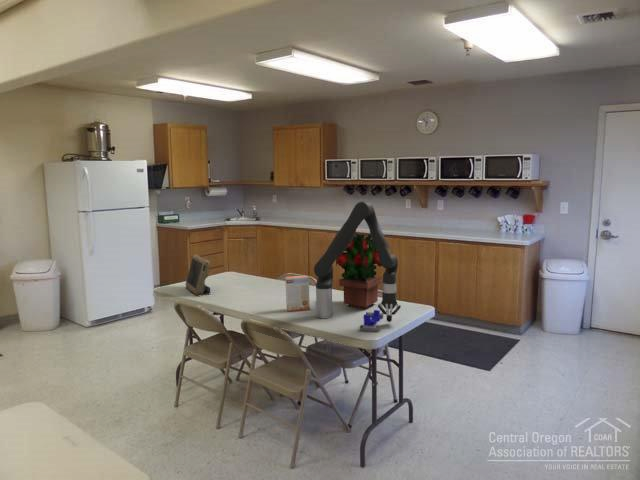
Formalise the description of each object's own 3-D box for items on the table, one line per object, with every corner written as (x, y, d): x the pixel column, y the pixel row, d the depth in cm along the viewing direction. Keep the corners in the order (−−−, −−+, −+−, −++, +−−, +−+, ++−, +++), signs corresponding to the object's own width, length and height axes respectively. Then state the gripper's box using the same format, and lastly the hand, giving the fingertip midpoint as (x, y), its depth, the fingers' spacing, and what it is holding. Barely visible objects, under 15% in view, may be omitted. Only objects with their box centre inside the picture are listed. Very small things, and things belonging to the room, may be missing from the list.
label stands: (359, 331, 255) (359, 326, 254) (366, 315, 282) (366, 311, 281) (378, 332, 252) (378, 327, 252) (383, 316, 280) (383, 312, 279)
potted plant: (368, 312, 288) (368, 238, 282) (336, 307, 300) (335, 236, 294) (384, 303, 306) (384, 233, 300) (353, 299, 318) (353, 231, 312)
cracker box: (308, 307, 301) (307, 274, 298) (310, 310, 295) (309, 276, 292) (286, 309, 299) (285, 276, 296) (287, 311, 293) (286, 278, 290)
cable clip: (370, 327, 262) (370, 316, 261) (363, 325, 264) (363, 314, 263) (382, 321, 271) (382, 311, 270) (375, 320, 274) (375, 309, 273)
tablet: (181, 288, 360) (179, 255, 356) (199, 285, 367) (198, 253, 364) (196, 297, 332) (194, 261, 329) (215, 294, 340) (213, 259, 337)
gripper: (376, 292, 260) (376, 323, 263) (401, 293, 257) (401, 324, 260) (377, 288, 268) (377, 319, 270) (401, 289, 265) (401, 320, 267)
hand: (389, 321), depth 265 cm, fingers closed
